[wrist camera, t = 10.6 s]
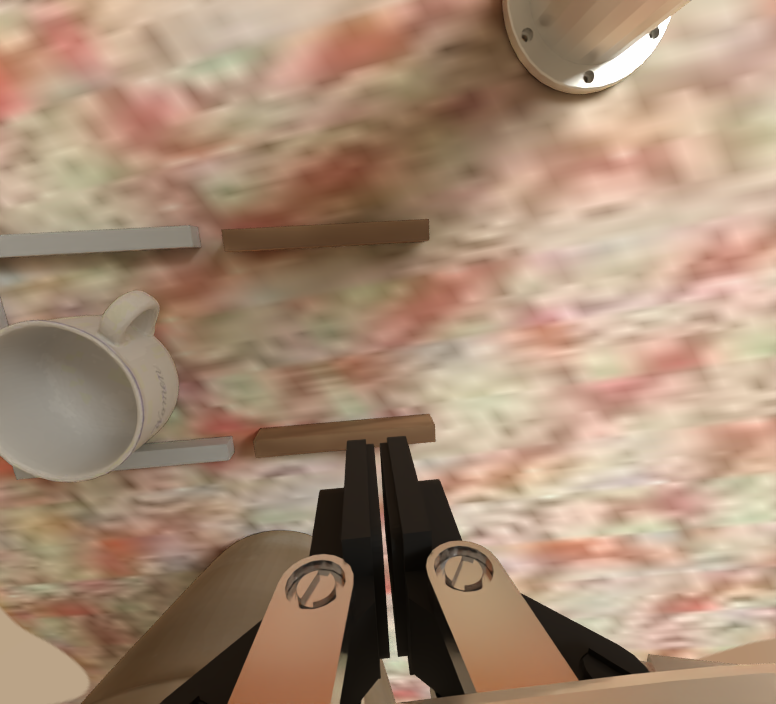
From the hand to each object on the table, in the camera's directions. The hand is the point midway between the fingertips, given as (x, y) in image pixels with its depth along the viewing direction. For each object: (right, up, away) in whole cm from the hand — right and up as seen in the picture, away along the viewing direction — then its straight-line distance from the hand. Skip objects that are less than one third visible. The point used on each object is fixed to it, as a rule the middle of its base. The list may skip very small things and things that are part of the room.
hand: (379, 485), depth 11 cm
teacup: (-20, +3, +21) cm, 29 cm away
